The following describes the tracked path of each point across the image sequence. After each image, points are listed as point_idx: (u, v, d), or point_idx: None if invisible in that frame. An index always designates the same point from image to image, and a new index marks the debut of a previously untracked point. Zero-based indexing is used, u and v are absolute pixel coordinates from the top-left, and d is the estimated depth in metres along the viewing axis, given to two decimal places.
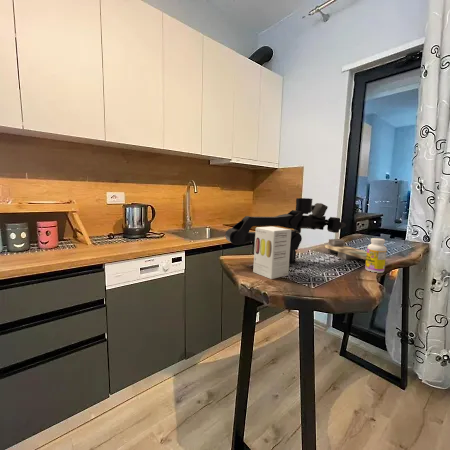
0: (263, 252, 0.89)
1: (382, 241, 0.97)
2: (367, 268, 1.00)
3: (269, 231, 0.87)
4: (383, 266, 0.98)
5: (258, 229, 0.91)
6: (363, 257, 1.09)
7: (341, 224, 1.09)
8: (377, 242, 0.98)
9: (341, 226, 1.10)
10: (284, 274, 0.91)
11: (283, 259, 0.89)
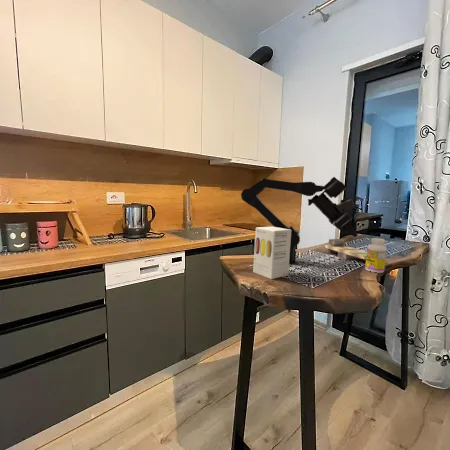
0: (263, 252, 0.89)
1: (382, 241, 0.97)
2: (367, 268, 1.00)
3: (269, 231, 0.87)
4: (383, 266, 0.98)
5: (258, 229, 0.91)
6: (363, 257, 1.09)
7: (351, 229, 0.97)
8: (377, 242, 0.98)
9: (349, 231, 0.97)
10: (284, 274, 0.91)
11: (283, 259, 0.89)
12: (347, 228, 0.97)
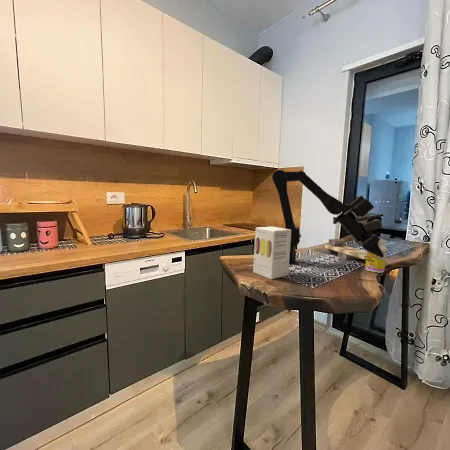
0: (263, 252, 0.89)
1: (382, 241, 0.97)
2: (367, 268, 1.00)
3: (269, 231, 0.87)
4: (383, 266, 0.98)
5: (258, 229, 0.91)
6: (363, 257, 1.09)
7: (378, 250, 0.96)
8: None
9: (376, 252, 0.96)
10: (284, 274, 0.91)
11: (283, 259, 0.89)
12: (374, 248, 0.96)
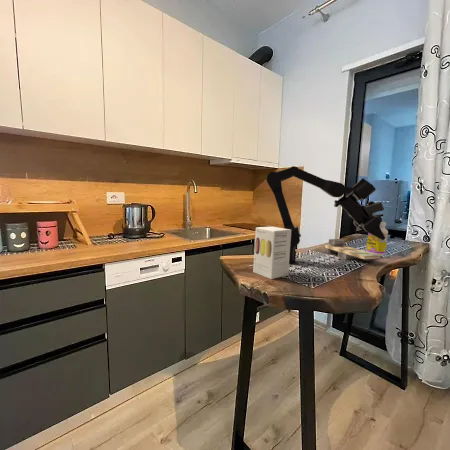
0: (263, 252, 0.89)
1: (383, 224, 0.97)
2: (368, 251, 1.00)
3: (269, 231, 0.87)
4: (384, 249, 0.98)
5: (258, 229, 0.91)
6: (363, 257, 1.09)
7: (379, 232, 0.96)
8: None
9: (377, 234, 0.96)
10: (284, 274, 0.91)
11: (283, 259, 0.89)
12: (375, 231, 0.96)
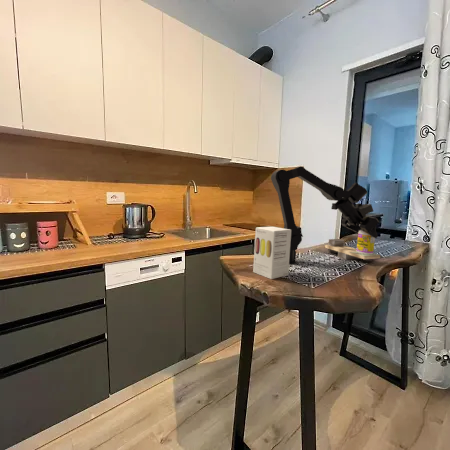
0: (263, 252, 0.89)
1: None
2: (360, 251, 1.12)
3: (269, 231, 0.87)
4: (373, 248, 1.11)
5: (258, 229, 0.91)
6: (363, 257, 1.09)
7: (374, 232, 1.07)
8: None
9: (372, 233, 1.07)
10: (284, 274, 0.91)
11: (283, 259, 0.89)
12: (371, 230, 1.06)
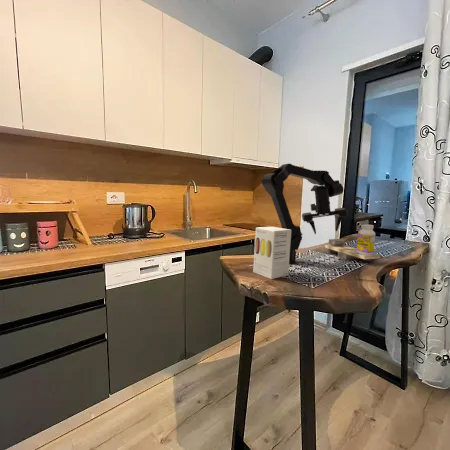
0: (263, 252, 0.89)
1: (372, 226, 1.10)
2: (360, 251, 1.12)
3: (269, 231, 0.87)
4: (373, 248, 1.11)
5: (258, 229, 0.91)
6: (363, 257, 1.09)
7: None
8: (369, 227, 1.10)
9: None
10: (284, 274, 0.91)
11: (283, 259, 0.89)
12: None
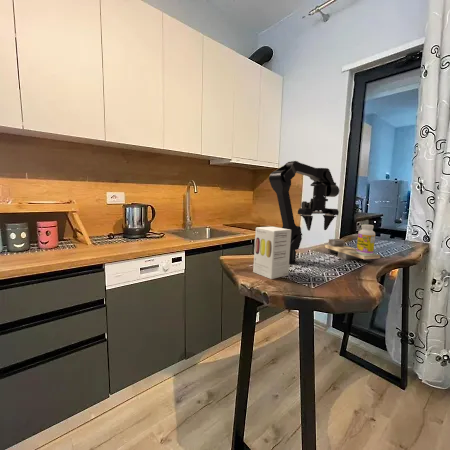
0: (263, 252, 0.89)
1: (372, 226, 1.10)
2: (360, 251, 1.12)
3: (269, 231, 0.87)
4: (373, 248, 1.11)
5: (258, 229, 0.91)
6: (363, 257, 1.09)
7: None
8: (369, 227, 1.10)
9: None
10: (284, 274, 0.91)
11: (283, 259, 0.89)
12: None
